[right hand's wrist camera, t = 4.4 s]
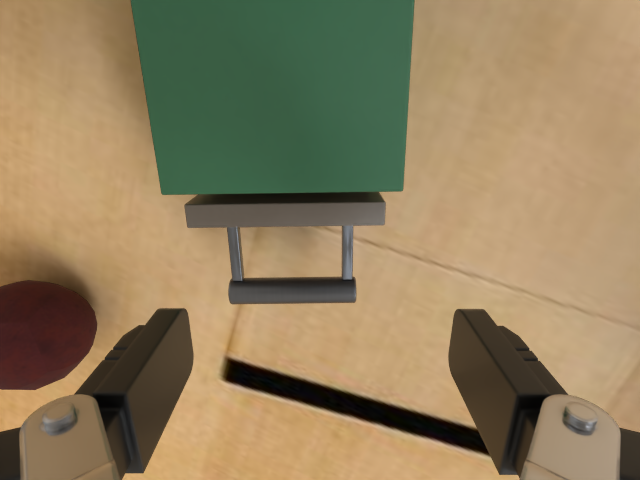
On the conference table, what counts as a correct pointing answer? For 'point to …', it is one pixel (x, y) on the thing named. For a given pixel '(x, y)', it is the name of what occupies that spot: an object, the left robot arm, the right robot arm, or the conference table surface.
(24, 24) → the conference table surface
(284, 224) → the drawer
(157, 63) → the cabinet
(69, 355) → the potato
